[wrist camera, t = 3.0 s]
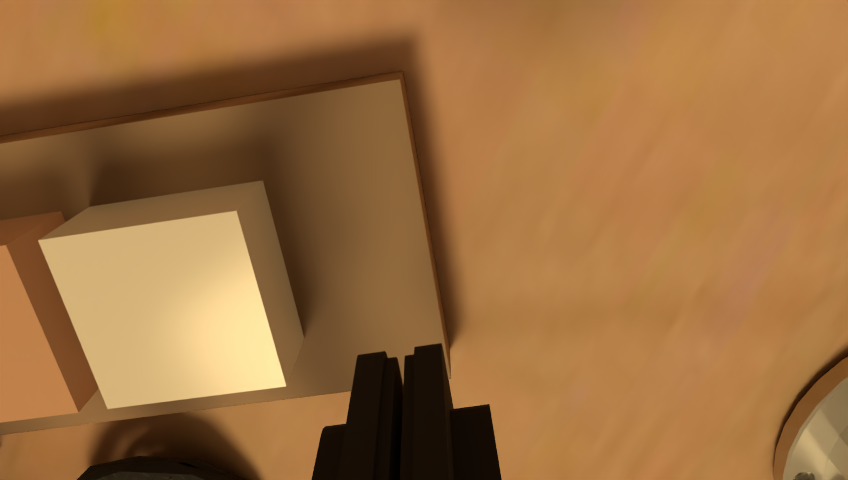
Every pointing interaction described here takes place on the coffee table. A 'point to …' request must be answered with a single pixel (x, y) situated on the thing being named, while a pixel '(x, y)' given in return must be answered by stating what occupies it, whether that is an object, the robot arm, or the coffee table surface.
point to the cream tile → (178, 295)
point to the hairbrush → (155, 470)
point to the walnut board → (290, 206)
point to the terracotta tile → (36, 329)
